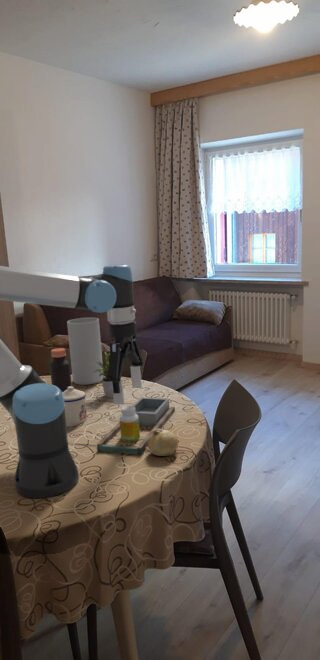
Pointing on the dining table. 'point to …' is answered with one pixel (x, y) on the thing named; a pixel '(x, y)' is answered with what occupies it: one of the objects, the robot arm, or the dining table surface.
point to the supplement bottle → (129, 424)
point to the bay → (131, 450)
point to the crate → (151, 410)
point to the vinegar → (60, 369)
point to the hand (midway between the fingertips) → (128, 395)
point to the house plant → (106, 377)
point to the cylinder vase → (85, 350)
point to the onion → (162, 442)
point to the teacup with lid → (74, 406)
